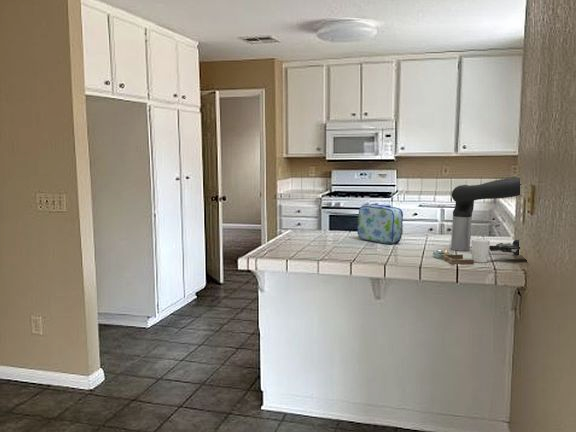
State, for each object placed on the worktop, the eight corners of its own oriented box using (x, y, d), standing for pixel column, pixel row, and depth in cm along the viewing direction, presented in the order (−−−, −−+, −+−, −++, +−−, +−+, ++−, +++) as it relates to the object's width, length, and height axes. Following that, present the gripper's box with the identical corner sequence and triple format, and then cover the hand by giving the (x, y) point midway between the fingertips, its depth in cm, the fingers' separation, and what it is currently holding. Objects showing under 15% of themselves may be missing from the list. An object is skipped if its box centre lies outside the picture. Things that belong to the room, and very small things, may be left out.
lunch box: (404, 243, 284) (406, 205, 281) (392, 246, 277) (394, 206, 274) (367, 237, 303) (368, 201, 300) (355, 239, 296) (356, 202, 293)
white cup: (484, 259, 245) (485, 238, 243) (491, 263, 237) (492, 241, 236) (467, 259, 244) (469, 238, 243) (474, 263, 237) (475, 241, 235)
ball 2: (441, 255, 248) (441, 249, 248) (447, 255, 248) (447, 249, 248) (443, 257, 245) (444, 250, 245) (450, 256, 245) (450, 250, 245)
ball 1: (435, 255, 250) (434, 249, 249) (441, 253, 250) (440, 247, 249) (438, 257, 247) (437, 251, 246) (444, 255, 247) (443, 249, 246)
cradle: (441, 259, 244) (441, 254, 244) (461, 258, 246) (462, 254, 245) (452, 264, 233) (452, 260, 232) (473, 264, 234) (474, 259, 234)
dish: (432, 256, 251) (432, 251, 250) (446, 256, 252) (446, 251, 251) (438, 259, 244) (438, 254, 244) (452, 259, 245) (452, 254, 244)
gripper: (517, 237, 249) (483, 237, 246) (534, 242, 236) (498, 242, 233) (516, 252, 250) (482, 253, 247) (532, 258, 237) (497, 259, 234)
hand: (490, 248), depth 240 cm, fingers closed
